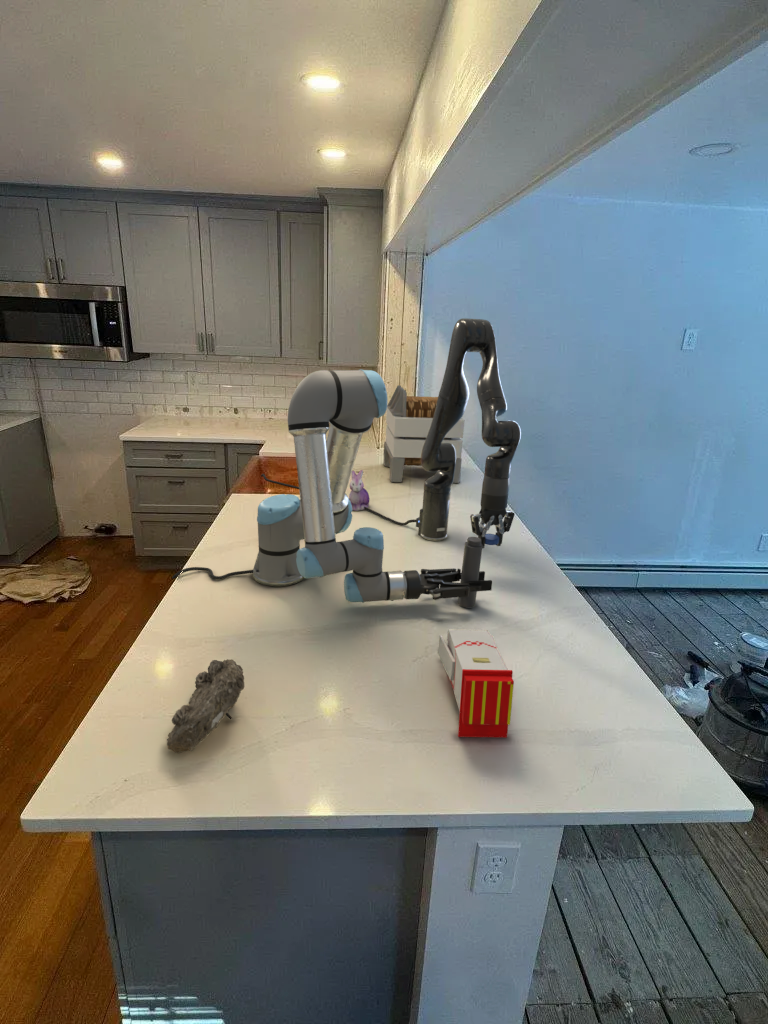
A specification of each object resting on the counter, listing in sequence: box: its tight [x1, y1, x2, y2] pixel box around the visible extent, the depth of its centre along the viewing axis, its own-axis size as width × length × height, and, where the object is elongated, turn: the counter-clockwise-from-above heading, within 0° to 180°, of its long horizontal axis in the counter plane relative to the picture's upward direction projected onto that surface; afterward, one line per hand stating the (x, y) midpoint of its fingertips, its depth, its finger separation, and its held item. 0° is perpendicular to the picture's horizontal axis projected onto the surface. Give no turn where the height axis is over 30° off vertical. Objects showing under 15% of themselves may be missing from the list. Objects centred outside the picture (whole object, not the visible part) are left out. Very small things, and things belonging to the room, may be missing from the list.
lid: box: [485, 533, 499, 546], centre depth 166 cm, size 5×5×2 cm
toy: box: [437, 628, 515, 738], centre depth 117 cm, size 12×13×30 cm
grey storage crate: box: [383, 384, 465, 484], centre depth 268 cm, size 34×33×41 cm
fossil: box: [166, 658, 245, 754], centre depth 106 cm, size 22×10×15 cm
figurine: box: [348, 469, 370, 511], centre depth 222 cm, size 9×10×15 cm
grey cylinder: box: [457, 536, 483, 609], centre depth 151 cm, size 5×5×19 cm
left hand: (487, 580), depth 153 cm, fingers closed on grey cylinder, 5 cm apart
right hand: (489, 546), depth 166 cm, fingers closed on lid, 5 cm apart
